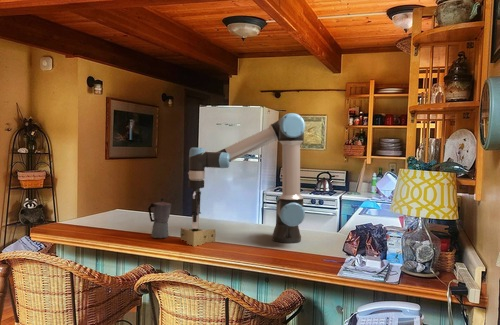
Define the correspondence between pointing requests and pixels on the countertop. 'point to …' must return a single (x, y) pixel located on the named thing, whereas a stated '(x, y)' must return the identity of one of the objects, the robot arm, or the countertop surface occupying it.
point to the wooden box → (197, 236)
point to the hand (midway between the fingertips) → (195, 227)
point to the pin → (198, 216)
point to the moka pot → (160, 218)
